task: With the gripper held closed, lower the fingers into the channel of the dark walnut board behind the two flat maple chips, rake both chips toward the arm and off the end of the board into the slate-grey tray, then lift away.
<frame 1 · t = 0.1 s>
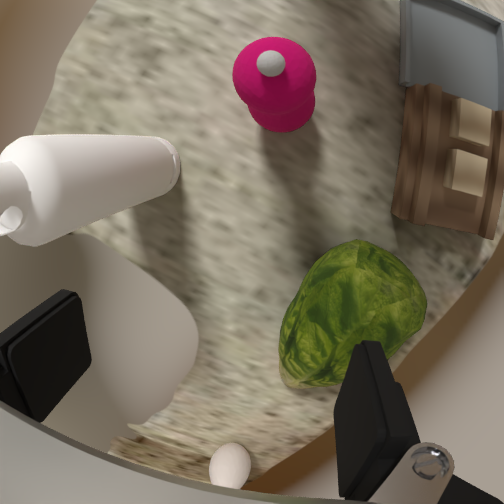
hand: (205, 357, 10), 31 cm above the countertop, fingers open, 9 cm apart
bottle: (152, 166, 40), on the countertop
pepper mill: (282, 105, 36), on the countertop
board: (447, 161, 34), on the countertop
egg: (235, 444, 54), on the countertop
lettuce: (331, 310, 43), on the countertop
chip b: (460, 171, 31), point 4 cm above the countertop, touching board
chip a: (465, 123, 29), point 4 cm above the countertop, touching board
tray: (453, 50, 29), on the countertop
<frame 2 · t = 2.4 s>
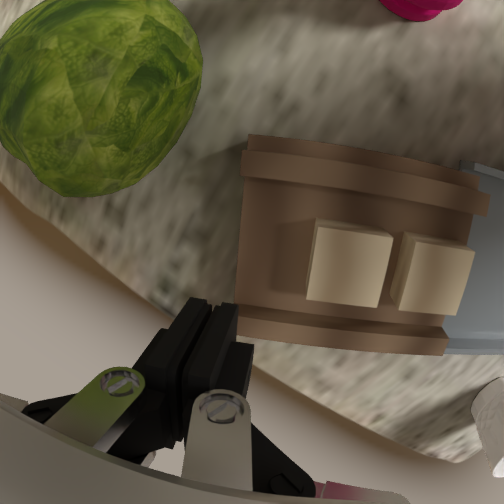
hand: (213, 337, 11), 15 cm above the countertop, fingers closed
board: (350, 241, 24), on the countertop
white cup: (492, 396, 27), on the countertop
lettuce: (97, 78, 23), on the countertop
chip b: (344, 256, 21), point 4 cm above the countertop, touching board
chip a: (425, 267, 20), point 4 cm above the countertop, touching board
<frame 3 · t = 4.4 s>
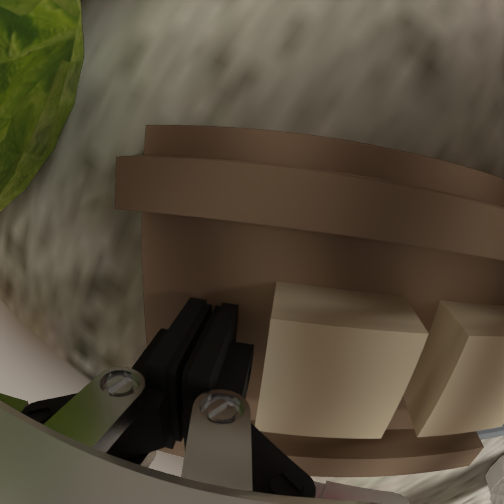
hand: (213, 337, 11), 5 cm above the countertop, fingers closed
board: (343, 300, 15), on the countertop
chip b: (330, 345, 11), point 4 cm above the countertop, touching board, gripper
chip a: (465, 353, 10), point 4 cm above the countertop, touching board
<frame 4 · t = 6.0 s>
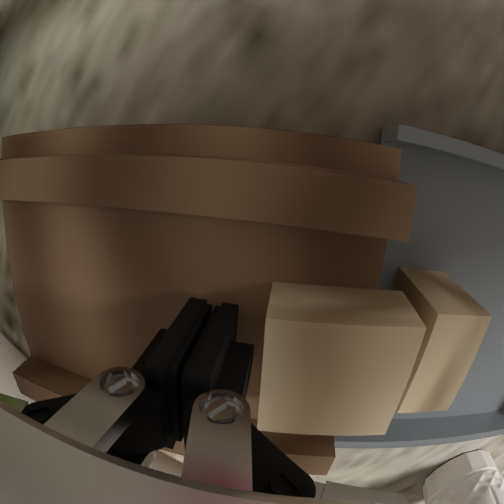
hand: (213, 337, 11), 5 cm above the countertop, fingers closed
board: (182, 277, 16), on the countertop
white cup: (456, 470, 19), on the countertop
chip b: (330, 343, 11), point 4 cm above the countertop, touching gripper
chip a: (400, 336, 12), point 3 cm above the countertop, tilted 92°, touching tray
tray: (480, 311, 14), on the countertop
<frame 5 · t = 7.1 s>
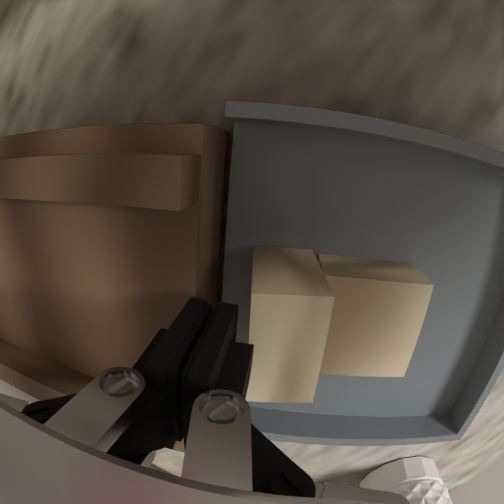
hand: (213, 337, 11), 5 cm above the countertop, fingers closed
board: (82, 259, 16), on the countertop
white cup: (397, 476, 19), on the countertop
chip b: (249, 319, 12), point 3 cm above the countertop, tilted 97°, touching chip a, gripper, tray
chip a: (369, 332, 12), point 3 cm above the countertop, tilted 180°, touching chip b, tray
tray: (382, 300, 15), on the countertop
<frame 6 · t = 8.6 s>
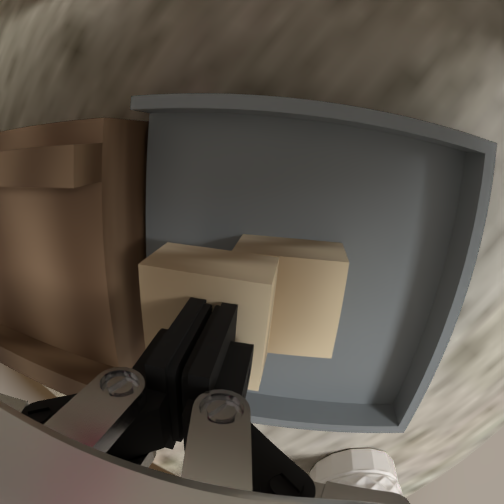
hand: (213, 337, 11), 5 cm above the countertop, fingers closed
board: (41, 240, 17), on the countertop
white cup: (351, 468, 20), on the countertop
chip b: (200, 333, 11), point 6 cm above the countertop, tilted 178°, touching chip a, gripper
chip a: (285, 309, 13), point 3 cm above the countertop, tilted 179°, touching chip b, tray
tray: (299, 278, 16), on the countertop
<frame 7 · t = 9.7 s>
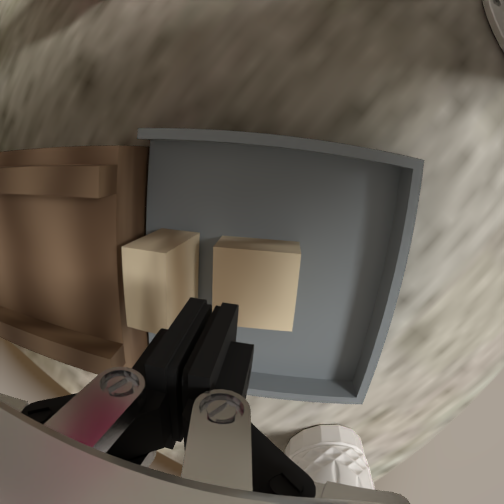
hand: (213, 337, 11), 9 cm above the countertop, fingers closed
board: (54, 241, 21), on the countertop
white cup: (323, 445, 24), on the countertop
chip b: (144, 274, 18), point 3 cm above the countertop, tilted 84°, touching tray
chip a: (254, 291, 17), point 3 cm above the countertop, tilted 180°, touching tray
tray: (267, 270, 20), on the countertop
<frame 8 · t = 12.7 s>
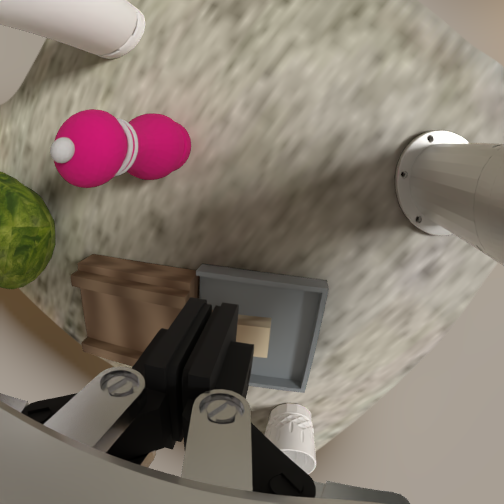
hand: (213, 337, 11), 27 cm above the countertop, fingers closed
bottle: (118, 32, 32), on the countertop
pepper mill: (167, 146, 36), on the countertop
board: (143, 308, 43), on the countertop
white cup: (290, 415, 46), on the countertop
lettuce: (20, 208, 42), on the countertop
chip a: (250, 341, 39), point 3 cm above the countertop, tilted 180°, touching tray
tray: (257, 328, 42), on the countertop
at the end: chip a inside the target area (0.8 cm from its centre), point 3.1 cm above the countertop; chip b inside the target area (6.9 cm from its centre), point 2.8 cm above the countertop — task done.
